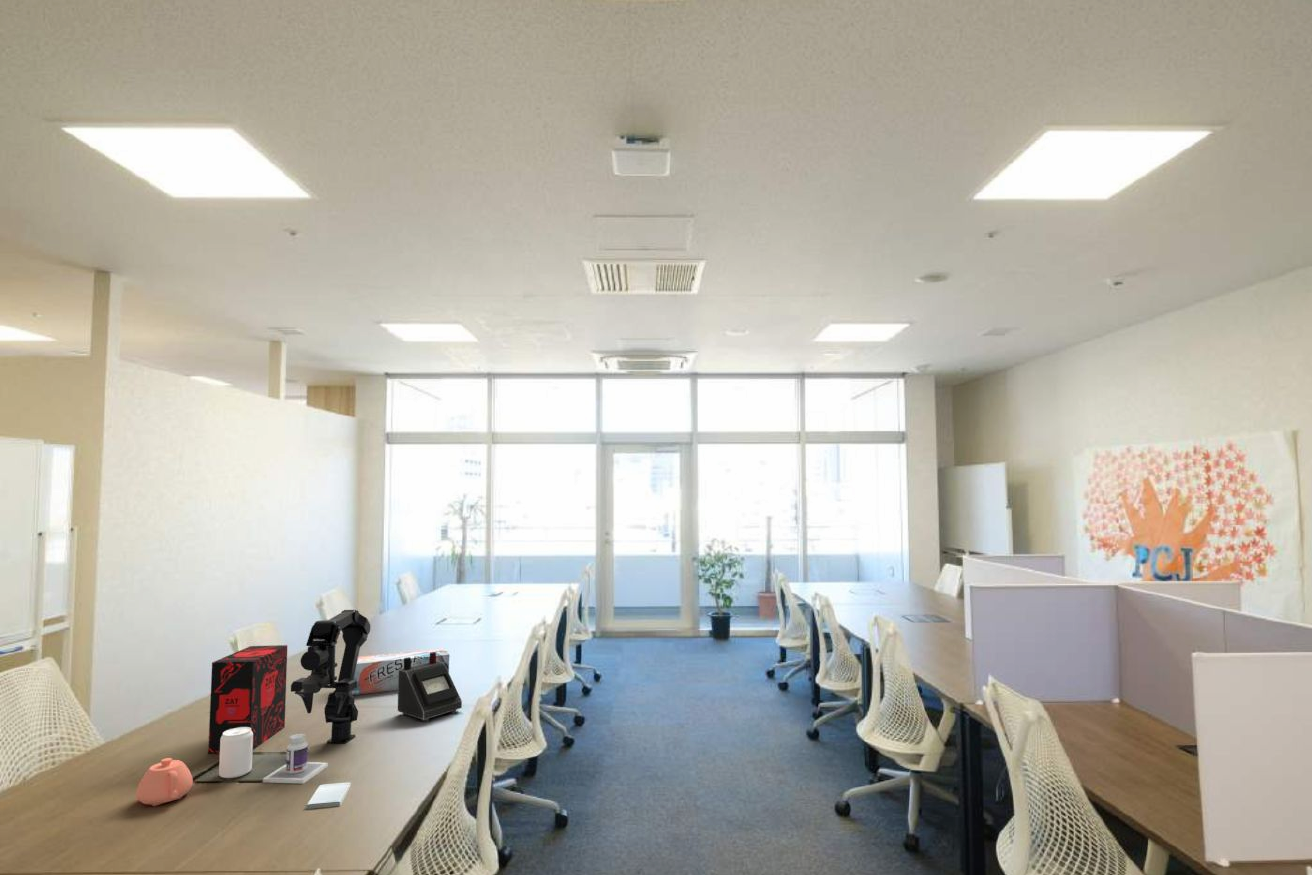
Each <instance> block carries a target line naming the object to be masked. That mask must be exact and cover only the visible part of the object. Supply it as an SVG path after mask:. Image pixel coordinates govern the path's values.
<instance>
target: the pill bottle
mask: <svg viewBox="0 0 1312 875" xmlns="http://www.w3.org/2000/svg"><path fill="white" fill-rule="evenodd" d="M305 740H306V734H305V733H294V734H292V735H290V736H289V744H288V745H287V746H286V755H285V756H286V761H285V764H286V772H287V773H289V774H295V773H300V772H303V771H304V770H306V769H307V762H308V750H309V749H308V747H309V746H308V745H309V744H308V742H307V741H305Z"/></svg>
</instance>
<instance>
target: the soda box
mask: <svg viewBox="0 0 1312 875" xmlns="http://www.w3.org/2000/svg"><path fill="white" fill-rule="evenodd" d="M431 652H436V661H439V662H444V664H445V666H446V668H447V670H448V673H449V674H450V654H449V652H448V651H447V649H445V648H436V649H435V648H434V649H423V650H413V651H402V652H392V653H383V654H381V653H380V654H370V655H361V656H360V655H359V656H358V660H357V665H356V670H355V675H354V679H356V681H357V688H355V689H353V690H352V691H351V692H352V694H353V696H358V695H368V694H376V693H384V692H392V691H398V673H399V669H403V668H404V658H411V667H412V666H416V665H420V664H425V663H429V657H430V653H431Z"/></svg>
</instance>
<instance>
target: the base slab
mask: <svg viewBox="0 0 1312 875" xmlns="http://www.w3.org/2000/svg"><path fill="white" fill-rule="evenodd" d="M328 767H329V762H317V761H315V762H314V761H313V762H312V761H307V769H306V770H304V771H303V772H300V773H295V774H289V773H287V772H286V763H285V764H284V765H282V766H281V767H279V768H277V769H276V770H274V771H273V772H271V773H270V774H267V775H266V776H265V777H263V778H262V783H273V784H274V783H275V784H276V783H279V784H303V785H304V784H305V783H306V782H308V781H309V780H311V779H312V778H314V777H315V776H316V775H318V774H320V773H321V772H322V771H324V770H325V769H327V768H328Z"/></svg>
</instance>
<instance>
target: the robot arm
mask: <svg viewBox="0 0 1312 875" xmlns="http://www.w3.org/2000/svg"><path fill="white" fill-rule="evenodd" d="M370 632H371V623H370V622H369V620H368V618H367V617H365V616H364V615H363V614H361V613H360V612H359V610H357V609H343V610H342V611H340V613H338V614H337V615H335V616H333V617H330V619H323V620H317V621H314V623H313V625H311V629H310V632H309V634H308V638H307V642H306V647H307V651H306V652H304V653H303V654H302V656H301V658H300V667H302V669H304V670H306V671H309V672H310V674H309V675H307V677H300V678H298V679H296V680H293V681H292V683H291V684H290V692H293V693H294V694H295V695H298V696H299V697H301V699H302V701H303V704H304V707H305V709H306V711H307V712H306V713H307V714H311V713H312V711H313V710H312V709H313V700H314V694H317V693H319V692H320V691H321V689H335V690H333V692H330V693H329V694H328V697H327V702H326V704H325V706H324V712H323V713H324V718H325V723H326V724H328V723H331V738H329V739H327V741H326V743H327V744H330V743H331V744H332V743H333V744H346V743H348V742H349V741H351V740H352V739H353V738H356V734H352V723H353V722H355V721H356V722H357V721H358V716H359V710H358V708H357V706H356V704H355V697H354V695H353V694H352V692H351V691H352V690H353V689H355V688H357V681H356V679H354V675H355V670H356V665H357V660H358V657H359V656H360V651H361V650H360V649H361V647H362V646H363V645H364V644H365V642H366V641H367V640H368V636H369V634H370ZM341 633H342V636H341V637H342V640H343V642H344V644H345V646H344V652H343V655H342V658H341V659H342V660H341V665H340V670H339V674H338V676H336V674H335V673H336V672H335V671H336V667H338V662H336V645H337V644H338V639H339V636H340V635H341Z"/></svg>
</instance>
